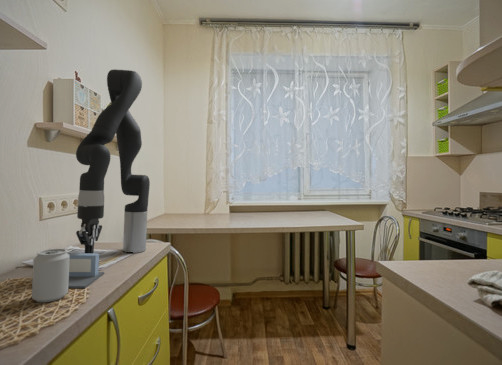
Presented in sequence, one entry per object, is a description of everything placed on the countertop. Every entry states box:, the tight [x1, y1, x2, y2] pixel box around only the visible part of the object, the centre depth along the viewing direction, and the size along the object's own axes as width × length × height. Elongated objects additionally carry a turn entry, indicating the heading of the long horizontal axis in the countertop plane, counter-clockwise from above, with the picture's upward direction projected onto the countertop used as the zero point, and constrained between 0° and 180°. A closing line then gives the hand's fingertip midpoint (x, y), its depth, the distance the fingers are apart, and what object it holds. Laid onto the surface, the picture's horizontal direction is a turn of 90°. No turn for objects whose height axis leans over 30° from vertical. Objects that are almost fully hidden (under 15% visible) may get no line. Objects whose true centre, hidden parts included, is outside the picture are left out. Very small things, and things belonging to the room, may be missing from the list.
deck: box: [68, 252, 100, 277], centre depth 83 cm, size 2×9×6 cm, turn 96°
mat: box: [68, 271, 105, 289], centre depth 80 cm, size 12×14×1 cm
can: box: [31, 248, 70, 303], centre depth 69 cm, size 8×8×12 cm
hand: (88, 256), depth 89 cm, fingers closed
